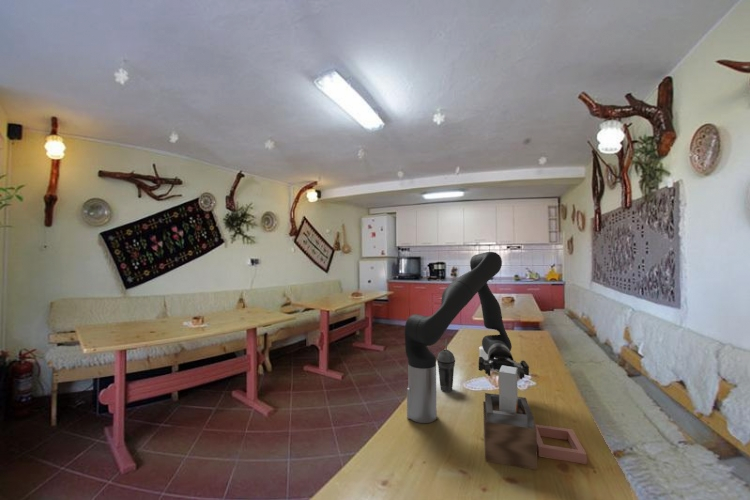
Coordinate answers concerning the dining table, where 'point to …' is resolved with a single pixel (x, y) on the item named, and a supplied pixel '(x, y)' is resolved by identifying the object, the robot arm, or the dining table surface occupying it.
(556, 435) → the lower collar
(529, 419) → the walnut pedestal
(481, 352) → the milkshake
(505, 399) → the skincare box
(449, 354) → the beverage cup
